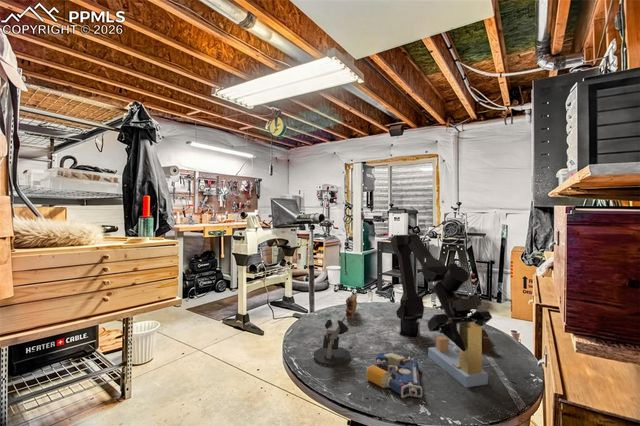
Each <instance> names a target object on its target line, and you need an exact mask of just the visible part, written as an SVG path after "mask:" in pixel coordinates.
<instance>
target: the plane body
mask: <svg viewBox="0 0 640 426" xmlns="http://www.w3.org/2000/svg"><path fill="white" fill-rule="evenodd" d="M449 340H450V339H449V338H448V337H447V336H445V335H440V336H435V346H432V347H428V348H427V352H428V353H427V356H428V358H429V359H430V360H432V362H434V363H435V364H436V365H438V366H439V367H440V368H441V369H442V370H444V371H445V372H446V373H447V374H448V375H450V376H451V377H453V378H454V379H455V381H457V382H458V383H459V384H461V385H462V386H463V387H465V388H471V387H477V386H478V387H479V386H485V385H488V381H489V380H488V378H489V374H488V373H487V372H486V371H485V370H484V369H482V373H476V374H469V375H468V374H466V373H465V372H464V371H462V370H461V369H460V368H459V353H458V352H457V351H455V349H453V348H451V347H450V346H449V345H450V344H449Z"/></svg>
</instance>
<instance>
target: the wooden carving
mask: <svg viewBox="0 0 640 426" xmlns="http://www.w3.org/2000/svg"><path fill="white" fill-rule="evenodd" d="M357 296H358V295H357V294H355V293H353V294H351V295H350V296H348V297H347V298H346V299H345V304H346V305H345V306H346V308H345V318H350V319H353V318H354V317H355V313H356V310H357V303H358V301H357ZM353 316H354V317H353Z"/></svg>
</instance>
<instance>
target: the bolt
mask: <svg viewBox="0 0 640 426" xmlns="http://www.w3.org/2000/svg"><path fill="white" fill-rule="evenodd" d="M482 336H483V342H484V348H483V349H482V353H485V354H490V353H491V352H492V350H493V348H494V344H493V342H492V341H491V339H490V338H489V334H488V332H487V331H486V330H485V328H482Z"/></svg>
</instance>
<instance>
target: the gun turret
mask: <svg viewBox="0 0 640 426" xmlns="http://www.w3.org/2000/svg"><path fill="white" fill-rule="evenodd" d="M346 319H347V317H346V315H344V316H343V317H342V318H341V320H339V319H338V320H337V323H334V322H332V319H330V318H329V319H327V320H326V323H325V324H324V328H325V329H326V330H325V331H326V334H324V335H323V342H322V343H323V344H322V347H319V348H318V349H316V350H314V351H313V361H314V360H315V361H314V362H316V361H317V362H318V363H319V364H318V363H317V362H316V363H317V364H318V365H320V364H321V365H320V366H323V365H326V366H325V367H329V366H332V367H331V368H335V367H334V366H336V367H341V365H342V366H345V365H346V364H348V363H349V362H350V361H351V352H350V350H347V349H345V348H344V347H341V346H339V345H340V344H339V343H340V342H339V341H340V337H339V335H343V334H345V333H347V332H348V331H349V327H348V326H347V325H346V324H345V323H344V321H346Z"/></svg>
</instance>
